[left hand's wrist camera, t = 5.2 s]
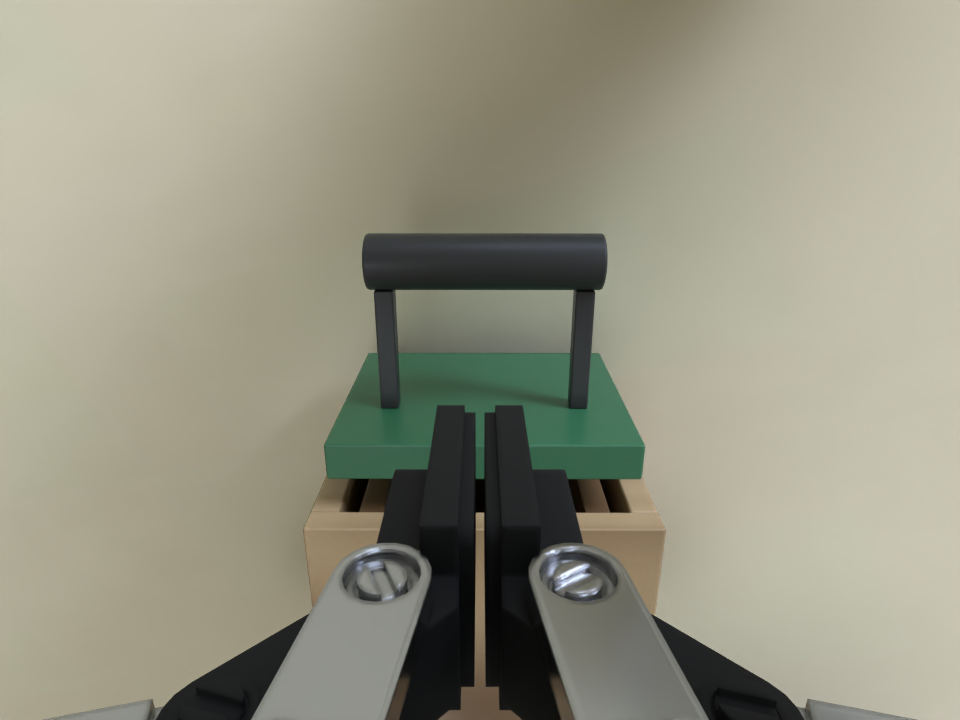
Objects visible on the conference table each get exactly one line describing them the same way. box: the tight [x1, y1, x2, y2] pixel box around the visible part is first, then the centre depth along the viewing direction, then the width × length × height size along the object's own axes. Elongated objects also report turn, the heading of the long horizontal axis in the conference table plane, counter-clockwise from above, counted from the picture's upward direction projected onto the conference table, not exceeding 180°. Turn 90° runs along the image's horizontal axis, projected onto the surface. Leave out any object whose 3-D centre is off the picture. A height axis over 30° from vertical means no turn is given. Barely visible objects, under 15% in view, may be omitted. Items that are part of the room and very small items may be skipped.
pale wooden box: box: [303, 476, 666, 720], centre depth 25 cm, size 13×11×10 cm
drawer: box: [324, 234, 645, 513], centre depth 23 cm, size 18×10×8 cm, turn 0°
